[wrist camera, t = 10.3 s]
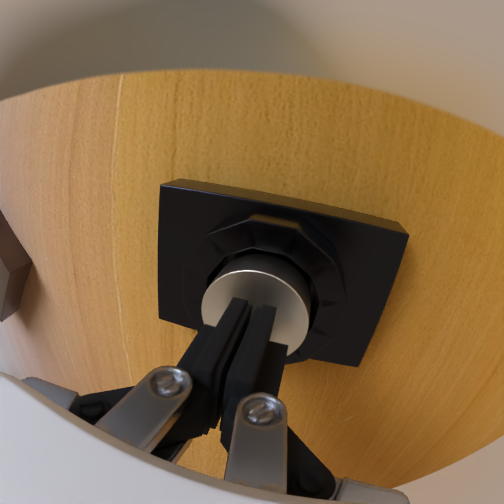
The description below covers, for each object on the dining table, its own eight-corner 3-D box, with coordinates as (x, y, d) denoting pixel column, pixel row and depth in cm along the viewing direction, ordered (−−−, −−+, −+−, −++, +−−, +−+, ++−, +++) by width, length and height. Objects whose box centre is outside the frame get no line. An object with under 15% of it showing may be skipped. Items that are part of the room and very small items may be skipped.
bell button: (211, 325, 14) (199, 346, 13) (219, 243, 13) (204, 258, 11) (298, 347, 14) (294, 371, 12) (321, 265, 12) (321, 285, 10)
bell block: (173, 301, 19) (143, 335, 15) (179, 178, 16) (139, 191, 12) (356, 344, 17) (359, 390, 13) (398, 222, 14) (421, 248, 10)
